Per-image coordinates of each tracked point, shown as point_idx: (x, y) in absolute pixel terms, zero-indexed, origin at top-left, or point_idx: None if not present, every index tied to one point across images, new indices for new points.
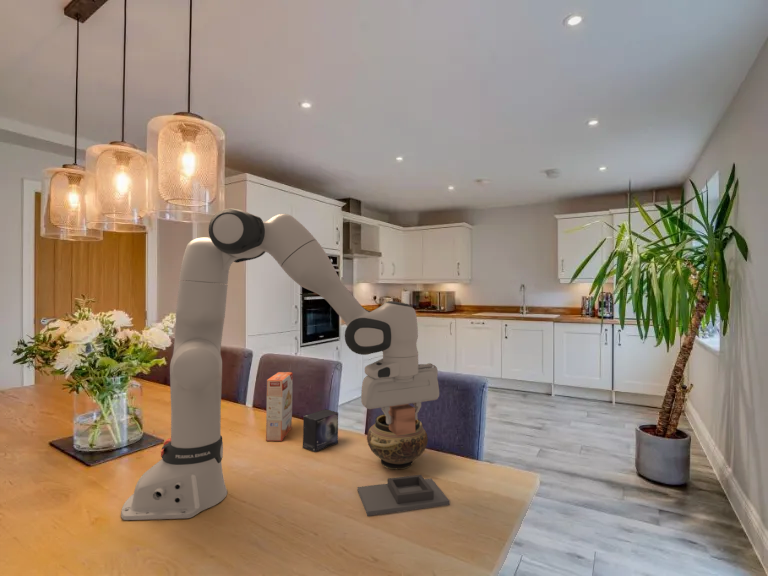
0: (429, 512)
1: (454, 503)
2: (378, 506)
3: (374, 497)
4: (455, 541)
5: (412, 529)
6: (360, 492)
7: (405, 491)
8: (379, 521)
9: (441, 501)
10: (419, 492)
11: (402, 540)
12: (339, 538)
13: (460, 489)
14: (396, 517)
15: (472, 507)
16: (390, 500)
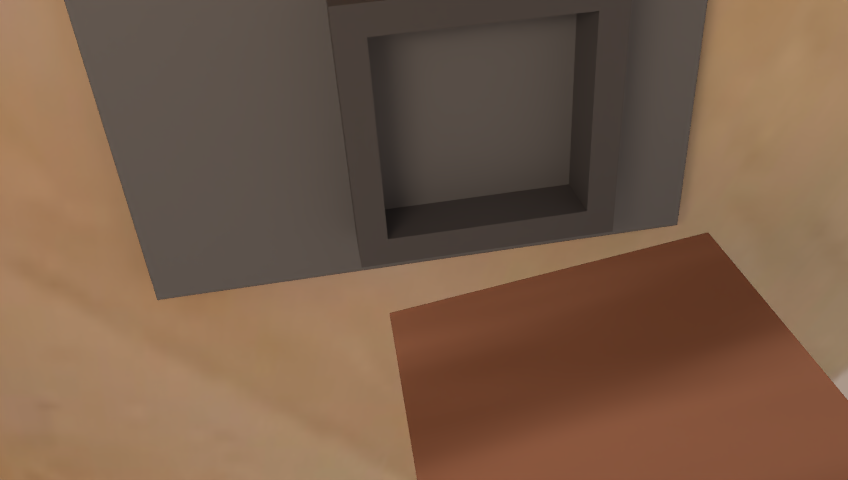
0: (525, 270)
1: (700, 198)
2: (231, 252)
3: (206, 146)
4: None
5: (393, 390)
6: (90, 63)
7: (447, 88)
8: (232, 329)
9: (627, 229)
10: (516, 243)
11: (330, 452)
12: (21, 439)
13: (835, 39)
14: (332, 302)
15: (767, 242)
16: (318, 193)
